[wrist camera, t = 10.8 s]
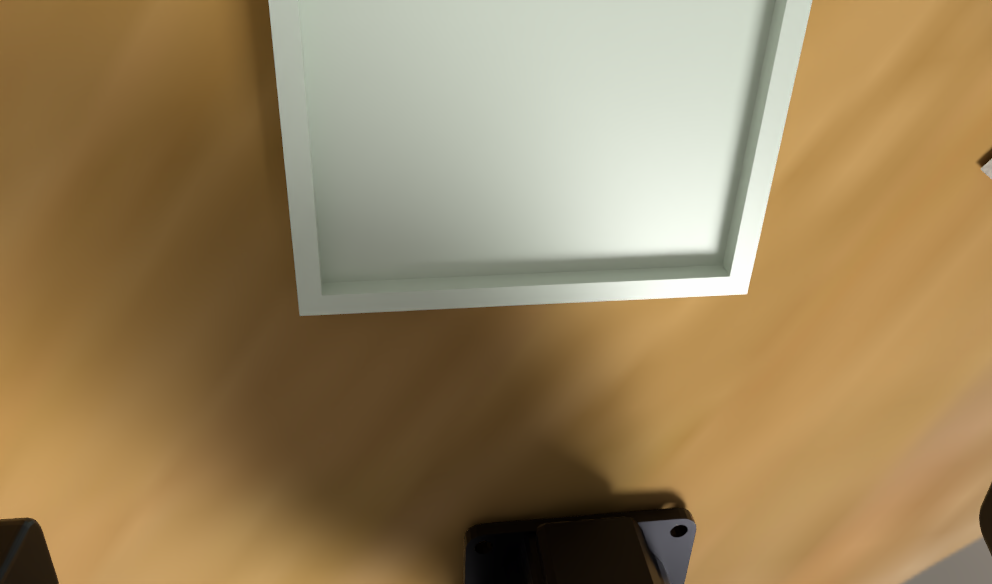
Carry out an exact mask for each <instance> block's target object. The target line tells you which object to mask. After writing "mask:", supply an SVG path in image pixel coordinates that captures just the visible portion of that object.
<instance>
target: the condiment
mask: <svg viewBox="0 0 992 584" xmlns="http://www.w3.org/2000/svg"><path fill="white" fill-rule="evenodd" d="M981 170H982V171H983V172H984V173H985V174H986V175H987V176H989V177H990V178H991V179H992V159H991V160H990V161H989V162H987V163H986V164H985V165H984V166H983V167H982V168H981Z"/></svg>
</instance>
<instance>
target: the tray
mask: <svg viewBox="0 0 992 584" xmlns="http://www.w3.org/2000/svg"><path fill="white" fill-rule="evenodd" d="M268 1H269V11H270V21H271V31H272V41H273V51H274V62H275V72H276V82H277V92H278V102H279V112H280V122H281V132H282V143H283V153H284V163H285V173H286V183H287V193H288V203H289V213H290V223H291V234H292V244H293V254H294V264H295V274H296V284H297V294H298V304H299V315H300V316H311V315H331V314H352V313H372V312H392V311H413V310H433V309H453V308H474V307H494V306H514V305H535V304H555V303H575V302H596V301H616V300H636V299H657V298H677V297H698V296H718V295H738V294H747V292H748V287H749V283H750V278H751V274H752V269H753V265H754V260H755V256H756V251H757V247H758V242H759V238H760V233H761V229H762V224H763V220H764V215H765V211H766V206H767V202H768V197H769V193H770V188H771V184H772V179H773V175H774V170H775V166H776V161H777V157H778V152H779V148H780V143H781V139H782V134H783V130H784V125H785V121H786V116H787V112H788V107H789V103H790V98H791V94H792V89H793V85H794V80H795V76H796V71H797V67H798V62H799V58H800V54H801V49H802V45H803V40H804V36H805V31H806V27H807V22H808V18H809V13H810V9H811V4H812V0H268Z"/></svg>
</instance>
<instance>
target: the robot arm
mask: <svg viewBox="0 0 992 584" xmlns="http://www.w3.org/2000/svg"><path fill="white" fill-rule="evenodd" d="M979 521H980V528H981V532H982V535H983V537H984V540H985V542H986V544H987V546H988V548H989V551H990V553H991V555H992V483H991V485H990V487H989V490H988V492H987V494H986V496H985V499H984V501H983V503H982V505H981V508H980V514H979ZM695 533H696V524H695V522H694V519H693V517H692V514H691V513H690V512H689V511H688V510H686V509H684V508H672V509H659V510H647V511H634V512H622V513H609V514H597V515H584V516H572V517H559V518H547V519H534V520H522V521H509V522H497V523H484V524H479V525H475V526H473V527H471V528H469V530H468V531H467V532H466V533H465V536H464V557H463V584H684V582H685V578H686V573H687V569H688V564H689V560H690V555H691V551H692V546H693V542H694V537H695ZM482 541H486V542H482ZM480 542H482V543H480ZM0 584H59V582H58V578H57V575H56V572H55V569H54V566H53V563H52V560H51V556H50V553H49V550H48V547H47V544H46V541H45V538H44V534H43V531H42V529H41V527H40V525H39V524H38V522H37V521H36V520H34V519H32V518H14V519H0Z"/></svg>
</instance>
